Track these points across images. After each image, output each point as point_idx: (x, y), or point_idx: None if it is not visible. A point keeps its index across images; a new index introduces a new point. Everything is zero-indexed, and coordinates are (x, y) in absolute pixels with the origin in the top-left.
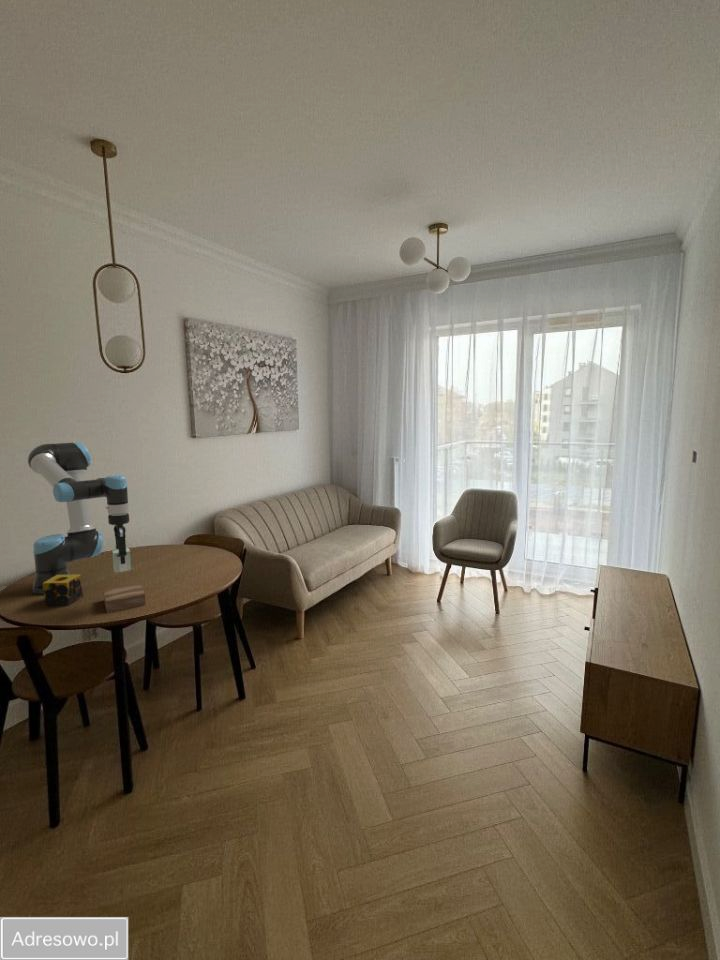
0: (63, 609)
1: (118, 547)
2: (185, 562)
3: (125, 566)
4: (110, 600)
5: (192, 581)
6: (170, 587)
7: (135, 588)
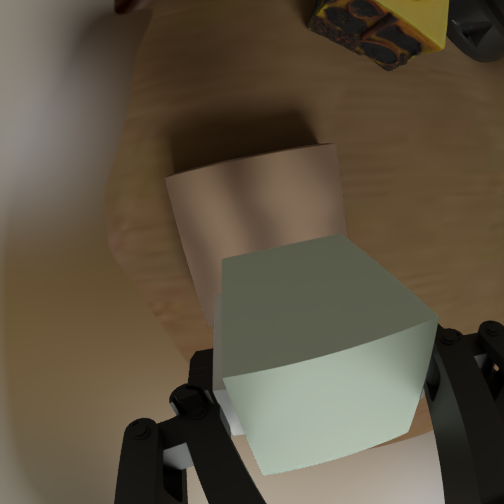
0: (271, 14)
1: (207, 497)
2: None
3: None
4: (172, 195)
5: None
6: None
7: None
